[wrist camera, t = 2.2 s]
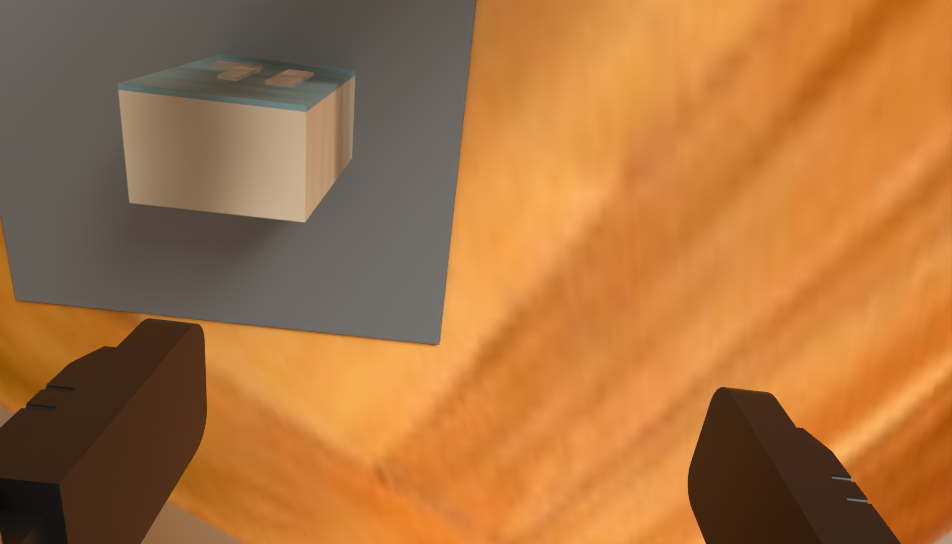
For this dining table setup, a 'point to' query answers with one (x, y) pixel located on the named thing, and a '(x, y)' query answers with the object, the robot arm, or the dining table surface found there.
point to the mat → (227, 235)
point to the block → (237, 136)
